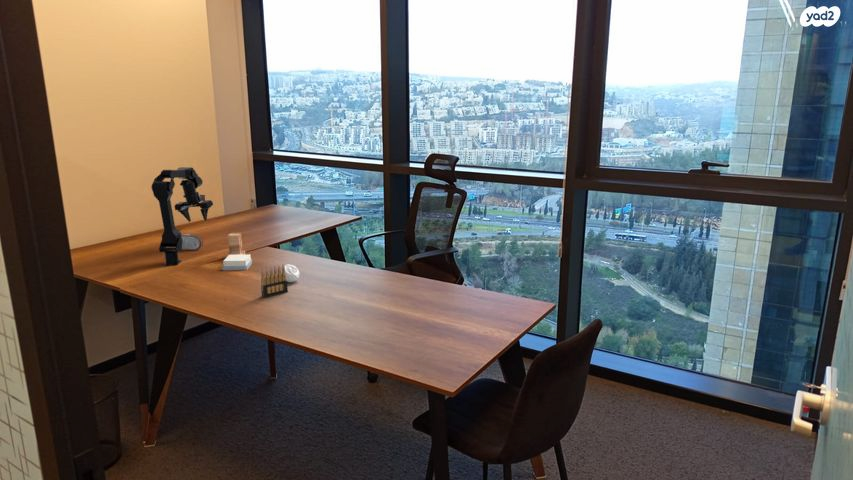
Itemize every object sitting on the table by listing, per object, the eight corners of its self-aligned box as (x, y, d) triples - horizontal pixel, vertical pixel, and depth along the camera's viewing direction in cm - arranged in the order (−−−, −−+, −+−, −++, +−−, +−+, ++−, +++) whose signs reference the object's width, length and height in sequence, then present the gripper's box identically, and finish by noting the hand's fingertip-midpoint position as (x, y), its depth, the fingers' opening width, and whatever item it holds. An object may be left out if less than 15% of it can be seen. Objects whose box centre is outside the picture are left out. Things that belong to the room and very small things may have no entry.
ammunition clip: (285, 290, 241) (284, 263, 237) (288, 291, 239) (286, 264, 236) (261, 296, 234) (259, 268, 231) (263, 297, 233) (261, 269, 229)
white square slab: (245, 265, 267) (245, 260, 266) (223, 266, 266) (223, 261, 266) (250, 259, 277) (250, 254, 276) (229, 259, 276) (228, 254, 275)
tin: (204, 249, 300) (202, 233, 298) (201, 251, 297) (199, 235, 295) (176, 248, 301) (174, 232, 299) (173, 250, 298) (171, 234, 296)
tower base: (247, 271, 267) (246, 266, 267) (222, 271, 266) (222, 266, 266) (252, 263, 278) (251, 259, 277) (228, 264, 277) (228, 259, 276)
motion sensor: (294, 285, 247) (293, 268, 245) (278, 284, 248) (277, 267, 246) (302, 279, 254) (301, 262, 252) (286, 278, 256) (285, 261, 254)
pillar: (242, 259, 283) (240, 235, 279) (227, 259, 282) (225, 236, 279) (245, 255, 289) (243, 232, 286) (231, 255, 289) (229, 232, 286)
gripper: (215, 186, 297) (222, 215, 303) (182, 188, 302) (190, 216, 307) (203, 192, 287) (210, 222, 293) (170, 194, 291) (178, 223, 297)
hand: (197, 221), depth 297 cm, fingers open, 9 cm apart
